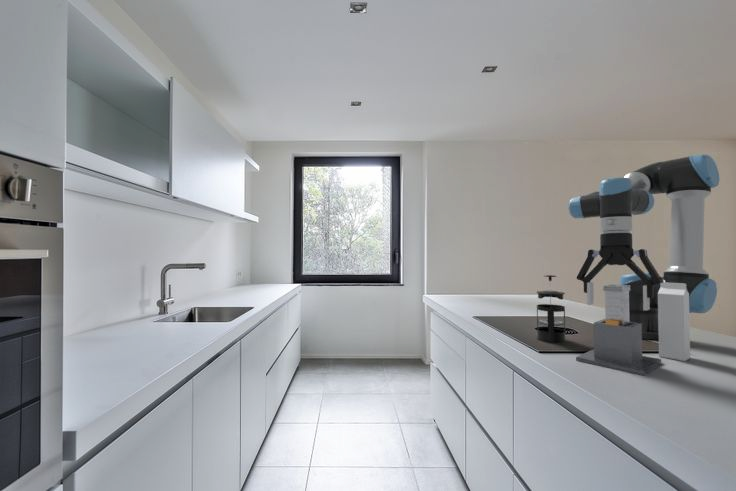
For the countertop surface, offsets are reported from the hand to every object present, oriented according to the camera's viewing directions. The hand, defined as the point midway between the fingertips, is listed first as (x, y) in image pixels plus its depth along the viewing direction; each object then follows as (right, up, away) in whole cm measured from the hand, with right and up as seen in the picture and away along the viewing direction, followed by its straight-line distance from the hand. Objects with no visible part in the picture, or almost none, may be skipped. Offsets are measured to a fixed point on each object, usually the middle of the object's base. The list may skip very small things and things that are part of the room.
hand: (617, 307), depth 101 cm
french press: (-5, -16, +26) cm, 31 cm away
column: (0, -14, 0) cm, 14 cm away
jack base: (0, -16, 0) cm, 16 cm away
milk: (+20, -16, +4) cm, 26 cm away
